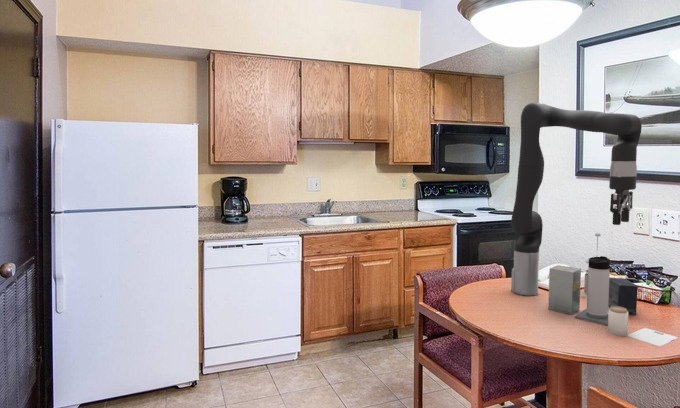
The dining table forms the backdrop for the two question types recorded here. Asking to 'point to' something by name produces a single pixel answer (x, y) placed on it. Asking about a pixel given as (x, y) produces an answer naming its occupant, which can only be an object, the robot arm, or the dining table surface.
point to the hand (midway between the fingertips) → (620, 223)
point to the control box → (564, 289)
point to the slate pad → (591, 318)
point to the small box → (623, 294)
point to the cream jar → (618, 321)
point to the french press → (587, 272)
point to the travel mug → (598, 287)
